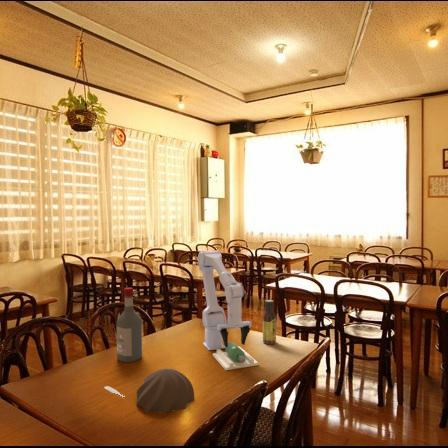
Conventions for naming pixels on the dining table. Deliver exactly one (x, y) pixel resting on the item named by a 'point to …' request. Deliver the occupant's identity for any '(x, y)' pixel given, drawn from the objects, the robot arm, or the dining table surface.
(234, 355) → the green bottle
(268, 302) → the sauce bottle
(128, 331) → the liquor
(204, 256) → the robot arm
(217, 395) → the dining table surface
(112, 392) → the butter knife
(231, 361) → the bottle cradle
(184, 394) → the decorative dome
